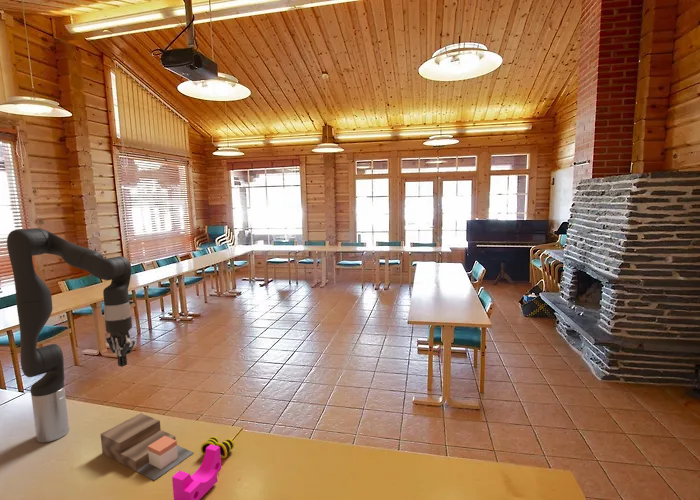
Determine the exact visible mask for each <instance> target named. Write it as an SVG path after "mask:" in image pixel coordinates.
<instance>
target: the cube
mask: <svg viewBox="0 0 700 500" xmlns="http://www.w3.org/2000/svg"><path fill="white" fill-rule="evenodd" d="M177 445H178V441H177V439H176V440H174V439H171V438H169V437H167V436H163V437H162V438H160V439H158V440H157V441H155V442H154V443H152V444H150V445H149V446H148V455H149V464H151V465H153V466H155V467H157V468H160V469H162V468H164V467H165V466H167V465H168V464H170V463H171V462H172V461H174V460H175V459H177V458H178V452H177Z"/></svg>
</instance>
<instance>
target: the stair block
mask: <svg viewBox="0 0 700 500" xmlns="http://www.w3.org/2000/svg"><path fill="white" fill-rule="evenodd" d="M163 436H167V437H169V438H171V439H174V440H176V441H177V439H176V436H175V435H174V434H171V433H169V432H167V431H164V430H162V429H161V420H159V419H157V418H154V417H151V416H149V415H147V414H144V413H142V412H140V413H139V414H136V415H135V416H132V417H131V418H129V419H126V420H125V421H123V422H121V423H119V424H116V425H115V426H114V427H111V428H109V429H108V430H105V431H103V432H102V433H100V441H101V443H100V444H101V451H102V454H103V455H105V456H107V457H108V458H111V459H112V460H114V461H116V462H118V463H120V464H121V465H124V466H126V467H128V468H130V469H131V470H133V471H134V472H137V473H138V474H141V475H142V476H144V477H146V478H149V479H150V480H152V481H154V482H155V481H157V480H158V479H159V478H161V477H162V476H164V475H165V474H167V473H168V472H169V471H171V470H172V469H174V468H175V467H176V466H177V465H179V464H181V463H182V462H184V461H185V460H186V459H188V458H189V457H190V456H193V455H194V454H195V452H193V451H191V450H189V449H187V448H184V447H182V446H180V445H178V444H177V452H178V458H177V459H175V460H174V461H172V462H171V463H170V464H168V465H167V466H165V467H164V468H162V469H160V468H157V467H155V466H153V465H151V464H149V455H148V446H149V445H150V444H152V443H154V442H155V441H157V440H158V439H160V438H162V437H163Z"/></svg>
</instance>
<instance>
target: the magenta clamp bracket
mask: <svg viewBox="0 0 700 500" xmlns="http://www.w3.org/2000/svg"><path fill="white" fill-rule="evenodd" d="M203 456H204V457H203V460H202V462H201V464H200V466H199V467H198V469H197V470H196V471H195V472H193V474H191V473H189V472H186V471H182V470H179V471H177V472H176V473H174V474H173V476H171V480H172V481H171V482H172V490H173V491H172V493H173V494H172V495H173V500H201V498H203V497H204V495H206V493H208V492H209V491H210V489H211V488H213V486H214V485H216V483H218V473H219V471H221V470H222V458H221V454H220V447H219V446H215V445H211V444H210V445H209V446H208V447H207V448H206V452H205V455H203Z"/></svg>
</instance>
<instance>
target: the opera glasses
mask: <svg viewBox="0 0 700 500" xmlns="http://www.w3.org/2000/svg"><path fill="white" fill-rule="evenodd" d="M210 444H211V445H215V446H219V447H220V454H221V459H226V458H227V456H228V454H229V453H230V452H231V450H232V449H234V447H235V444H234V441H233V439H231V438H227V439H226V440H225V441H222V442H220V441H219V438H218V437H216V436H210V438H208V439H207V440H206V441H205V442H203V443H202V444H201V447H200V453H201V454H202V455H203V456H205V452H206V448H207V447H208V446H209V445H210Z"/></svg>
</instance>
